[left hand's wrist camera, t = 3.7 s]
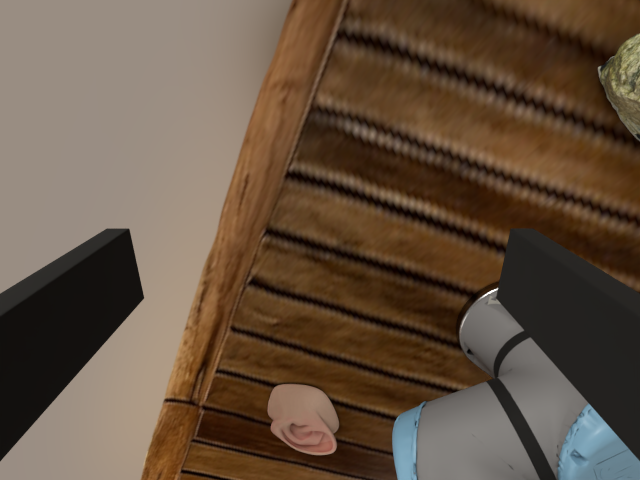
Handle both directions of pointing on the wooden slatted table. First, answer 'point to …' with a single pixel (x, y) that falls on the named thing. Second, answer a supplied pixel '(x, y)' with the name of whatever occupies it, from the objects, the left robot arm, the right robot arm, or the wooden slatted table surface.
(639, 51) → the fossil
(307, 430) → the anatomical model
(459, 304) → the wooden slatted table surface
